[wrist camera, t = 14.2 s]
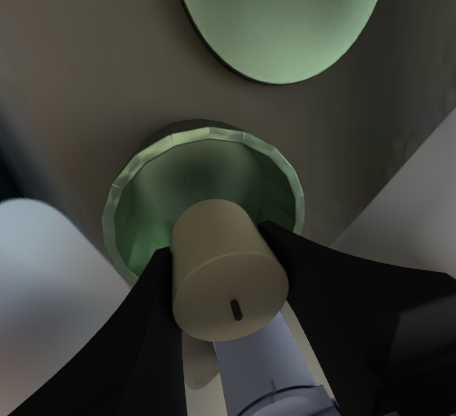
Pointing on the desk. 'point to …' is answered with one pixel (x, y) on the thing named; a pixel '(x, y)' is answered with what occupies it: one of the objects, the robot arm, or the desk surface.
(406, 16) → the desk surface
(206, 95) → the desk surface
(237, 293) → the candle
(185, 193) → the tin
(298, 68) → the tin lid
